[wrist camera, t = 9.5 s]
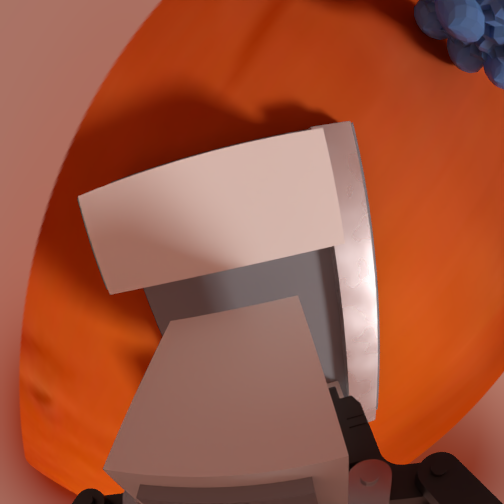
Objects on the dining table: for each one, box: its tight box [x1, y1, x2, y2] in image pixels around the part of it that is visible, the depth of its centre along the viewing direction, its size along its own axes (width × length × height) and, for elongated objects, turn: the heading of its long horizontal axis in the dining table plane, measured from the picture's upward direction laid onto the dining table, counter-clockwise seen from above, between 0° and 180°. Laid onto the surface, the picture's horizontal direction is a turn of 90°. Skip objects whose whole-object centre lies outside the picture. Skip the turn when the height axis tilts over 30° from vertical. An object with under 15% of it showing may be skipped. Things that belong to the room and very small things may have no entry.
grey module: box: [103, 295, 349, 504], centre depth 8 cm, size 8×5×7 cm, turn 13°
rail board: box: [77, 121, 380, 422], centre depth 15 cm, size 20×13×6 cm, turn 13°
